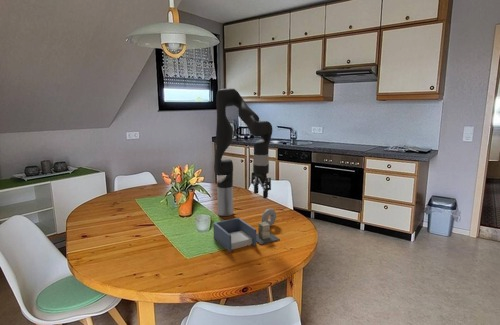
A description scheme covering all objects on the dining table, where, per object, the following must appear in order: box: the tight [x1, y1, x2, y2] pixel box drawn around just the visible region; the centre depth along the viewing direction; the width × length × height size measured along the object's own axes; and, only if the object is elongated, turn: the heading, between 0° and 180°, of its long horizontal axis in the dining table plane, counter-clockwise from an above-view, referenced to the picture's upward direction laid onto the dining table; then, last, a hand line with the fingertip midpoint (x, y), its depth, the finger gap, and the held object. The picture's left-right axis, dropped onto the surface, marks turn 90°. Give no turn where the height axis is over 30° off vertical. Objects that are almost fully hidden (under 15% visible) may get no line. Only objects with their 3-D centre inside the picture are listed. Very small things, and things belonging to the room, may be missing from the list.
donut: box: [261, 208, 277, 227], centre depth 171 cm, size 10×4×10 cm, turn 133°
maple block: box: [258, 221, 271, 239], centre depth 156 cm, size 4×4×7 cm
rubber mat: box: [256, 232, 281, 246], centre depth 156 cm, size 11×11×1 cm
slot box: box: [212, 217, 257, 253], centre depth 152 cm, size 18×14×8 cm
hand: (260, 195), depth 155 cm, fingers open, 8 cm apart
